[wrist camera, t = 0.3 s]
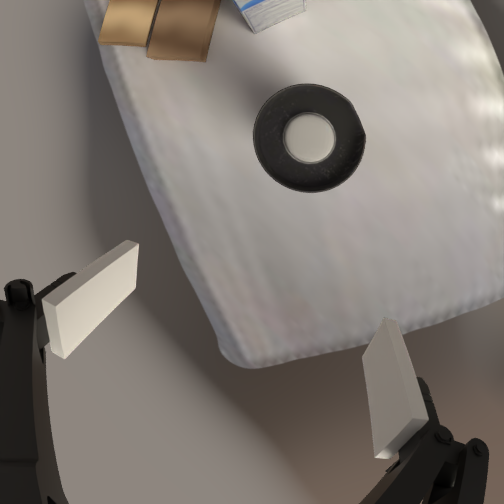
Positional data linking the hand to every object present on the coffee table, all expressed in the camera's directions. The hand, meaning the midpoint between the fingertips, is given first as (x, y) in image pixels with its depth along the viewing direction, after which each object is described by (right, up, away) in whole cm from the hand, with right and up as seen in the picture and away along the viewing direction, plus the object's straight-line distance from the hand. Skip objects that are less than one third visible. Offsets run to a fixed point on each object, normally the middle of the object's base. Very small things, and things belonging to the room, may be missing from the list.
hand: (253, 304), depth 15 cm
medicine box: (+3, +34, +16) cm, 38 cm away
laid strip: (-8, +38, +17) cm, 42 cm away
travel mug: (+7, +17, +22) cm, 29 cm away
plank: (-17, +40, +16) cm, 46 cm away
